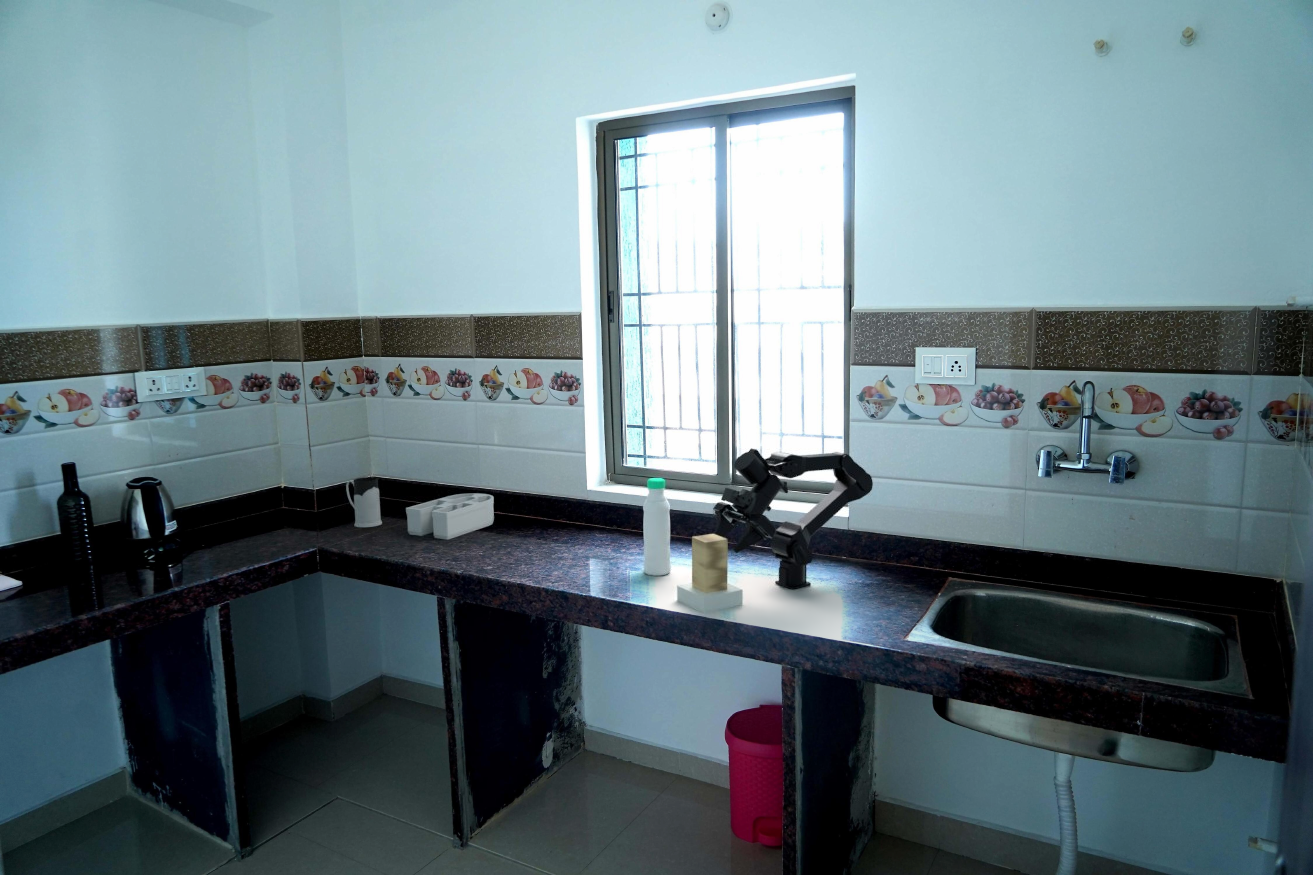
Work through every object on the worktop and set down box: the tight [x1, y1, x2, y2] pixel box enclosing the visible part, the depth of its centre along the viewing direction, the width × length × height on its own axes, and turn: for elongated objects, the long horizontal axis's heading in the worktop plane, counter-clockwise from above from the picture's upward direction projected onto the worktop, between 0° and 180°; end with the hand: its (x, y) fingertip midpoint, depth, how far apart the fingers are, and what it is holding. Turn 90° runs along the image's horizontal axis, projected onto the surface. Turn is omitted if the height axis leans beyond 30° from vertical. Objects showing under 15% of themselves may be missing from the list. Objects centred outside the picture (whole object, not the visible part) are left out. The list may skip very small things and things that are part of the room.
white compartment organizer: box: [405, 492, 495, 541], centre depth 283 cm, size 17×28×9 cm, turn 152°
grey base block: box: [676, 582, 744, 614], centre depth 207 cm, size 11×11×4 cm
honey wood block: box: [691, 533, 729, 593], centre depth 206 cm, size 6×6×12 cm
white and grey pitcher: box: [345, 476, 383, 528], centre depth 290 cm, size 9×14×15 cm, turn 57°
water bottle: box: [642, 477, 672, 577], centre depth 229 cm, size 7×7×25 cm
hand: (723, 547), depth 207 cm, fingers open, 9 cm apart
